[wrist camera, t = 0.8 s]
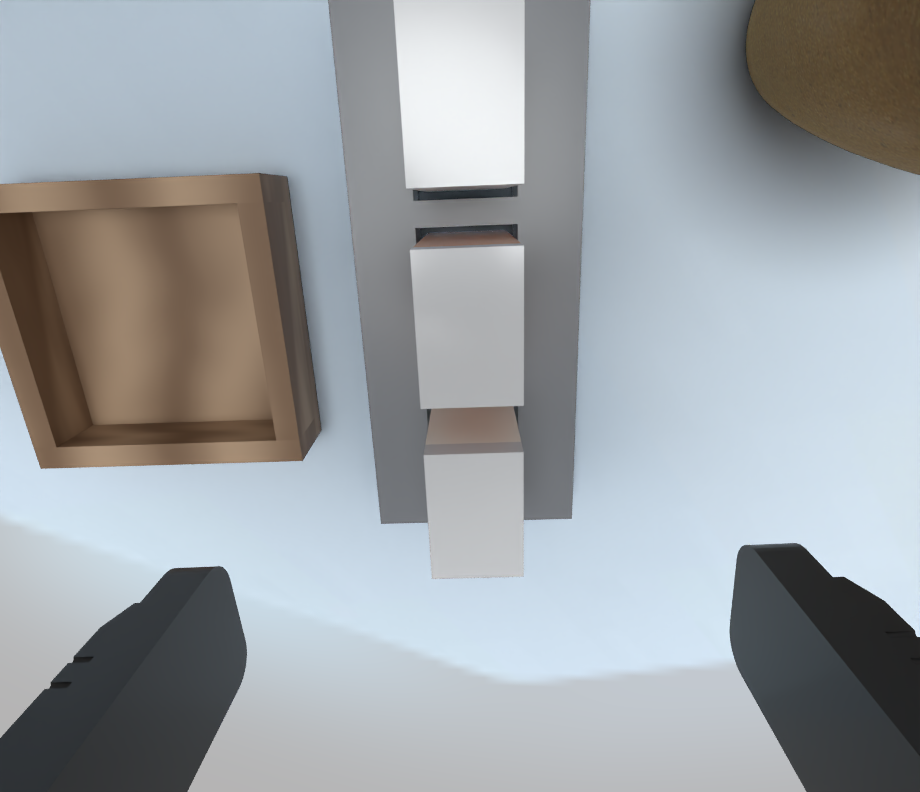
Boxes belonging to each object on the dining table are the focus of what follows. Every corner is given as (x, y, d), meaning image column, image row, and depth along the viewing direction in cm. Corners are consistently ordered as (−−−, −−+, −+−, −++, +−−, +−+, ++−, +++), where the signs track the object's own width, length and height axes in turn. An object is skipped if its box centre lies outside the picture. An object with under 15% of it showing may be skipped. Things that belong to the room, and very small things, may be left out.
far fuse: (507, 469, 33) (523, 576, 24) (441, 471, 33) (432, 578, 24) (506, 375, 31) (523, 452, 22) (436, 378, 31) (423, 455, 22)
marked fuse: (506, 341, 31) (523, 405, 21) (434, 344, 31) (420, 409, 21) (505, 229, 29) (524, 245, 19) (428, 232, 29) (409, 250, 19)
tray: (89, 437, 33) (40, 468, 29) (16, 187, 28) (-54, 186, 24) (321, 430, 32) (302, 460, 29) (287, 176, 28) (259, 173, 24)
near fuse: (504, 188, 28) (524, 183, 18) (426, 192, 28) (405, 188, 19) (503, 52, 26) (524, -31, 16) (418, 56, 26) (392, -25, 17)
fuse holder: (562, 491, 34) (571, 518, 31) (388, 496, 34) (381, 523, 31) (577, 9, 25) (591, -15, 22) (343, 20, 25) (327, -2, 23)
